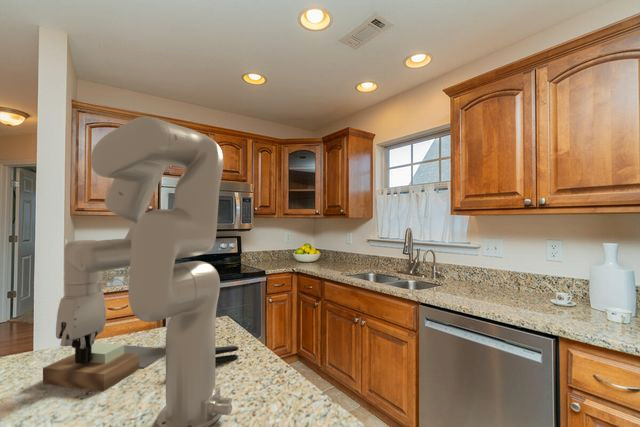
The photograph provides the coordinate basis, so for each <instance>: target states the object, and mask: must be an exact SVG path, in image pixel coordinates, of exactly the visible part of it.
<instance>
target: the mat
mask: <svg viewBox="0 0 640 427" xmlns="http://www.w3.org/2000/svg"><path fill="white" fill-rule="evenodd" d="M123 345H124V353H131V354H139V369H145V367H146V368H147V367H148V366H150V365H152V364H153V363H155V362H157V361H158V360H160V359H161V358H163V357H164V356H166V347H165V348H164V347H152V346H139V345H126V344H123Z"/></svg>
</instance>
